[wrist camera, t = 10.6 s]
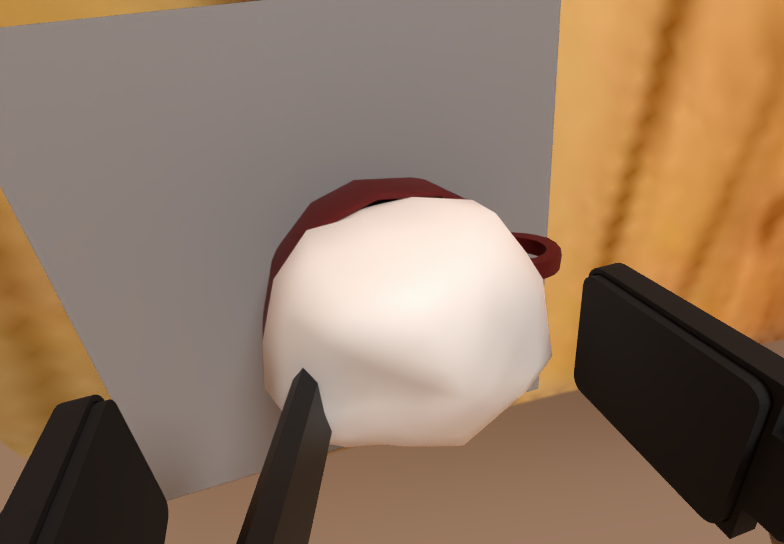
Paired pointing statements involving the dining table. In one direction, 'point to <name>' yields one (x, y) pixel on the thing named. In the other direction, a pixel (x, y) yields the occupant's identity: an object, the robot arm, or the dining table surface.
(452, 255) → the cocoa
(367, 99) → the stand
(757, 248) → the dining table surface
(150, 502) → the robot arm
